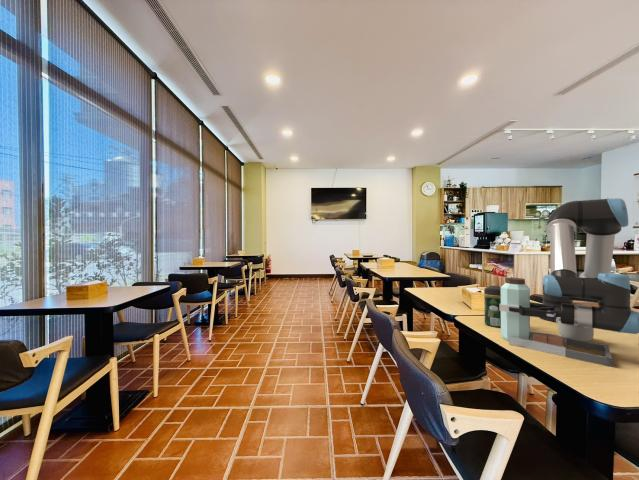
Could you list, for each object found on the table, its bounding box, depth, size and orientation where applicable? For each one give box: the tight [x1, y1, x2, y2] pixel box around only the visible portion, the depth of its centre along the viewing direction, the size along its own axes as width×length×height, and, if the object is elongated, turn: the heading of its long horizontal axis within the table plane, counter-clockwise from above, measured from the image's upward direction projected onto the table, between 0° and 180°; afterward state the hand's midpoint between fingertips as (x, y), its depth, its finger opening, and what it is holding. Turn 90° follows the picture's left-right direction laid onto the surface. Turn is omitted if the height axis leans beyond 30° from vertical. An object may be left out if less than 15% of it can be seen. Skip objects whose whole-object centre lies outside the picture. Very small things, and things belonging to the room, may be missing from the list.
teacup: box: [555, 317, 595, 342], centre depth 113 cm, size 14×11×8 cm
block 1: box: [532, 333, 548, 343], centre depth 107 cm, size 4×4×4 cm
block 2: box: [547, 335, 564, 346], centre depth 104 cm, size 4×4×4 cm
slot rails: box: [508, 330, 568, 357], centre depth 107 cm, size 16×15×3 cm
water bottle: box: [500, 277, 531, 342], centre depth 112 cm, size 10×10×25 cm
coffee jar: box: [483, 285, 501, 328], centre depth 133 cm, size 10×8×19 cm
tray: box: [564, 338, 613, 367], centre depth 98 cm, size 11×16×2 cm
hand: (502, 305), depth 115 cm, fingers closed on water bottle, 9 cm apart
